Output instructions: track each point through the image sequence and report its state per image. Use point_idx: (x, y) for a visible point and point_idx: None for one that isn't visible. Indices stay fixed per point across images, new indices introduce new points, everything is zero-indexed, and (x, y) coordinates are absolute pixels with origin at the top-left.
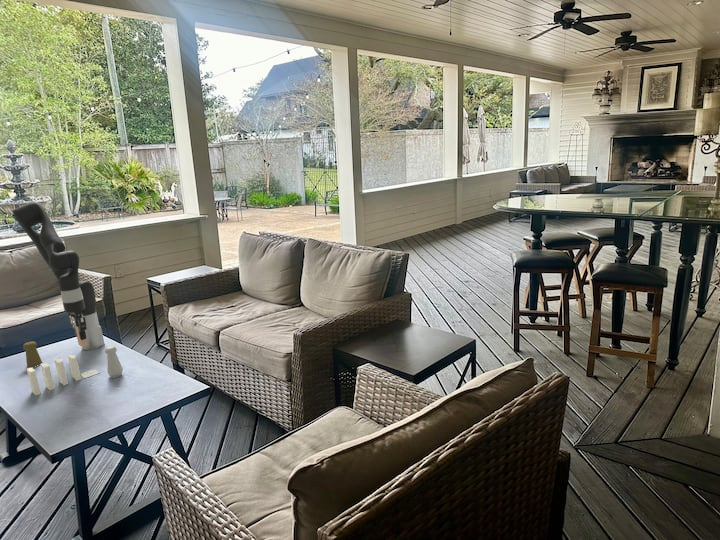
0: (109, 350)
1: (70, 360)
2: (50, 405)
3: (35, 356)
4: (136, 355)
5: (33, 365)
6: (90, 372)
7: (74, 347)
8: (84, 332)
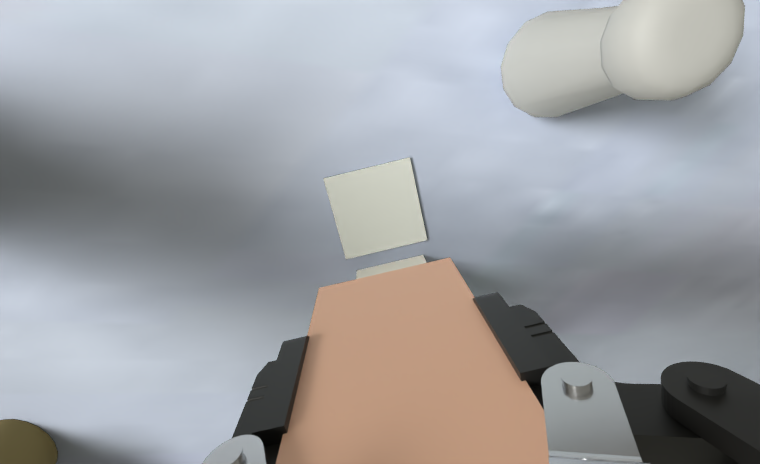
0: (733, 54)
1: None
2: (630, 383)
3: None
4: None
5: (47, 460)
6: (364, 204)
7: None
8: (574, 360)
